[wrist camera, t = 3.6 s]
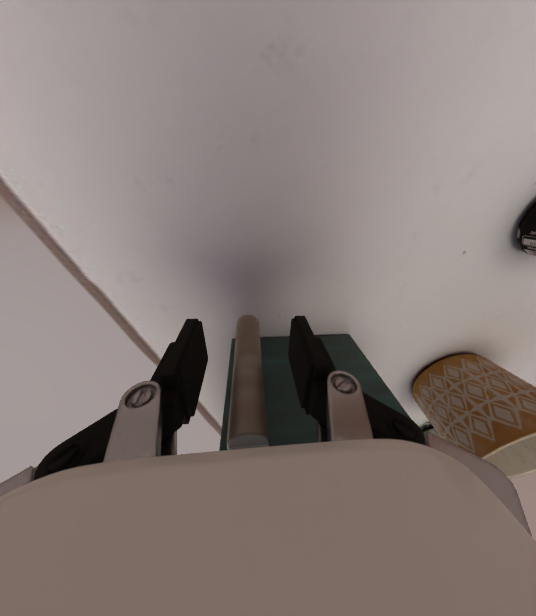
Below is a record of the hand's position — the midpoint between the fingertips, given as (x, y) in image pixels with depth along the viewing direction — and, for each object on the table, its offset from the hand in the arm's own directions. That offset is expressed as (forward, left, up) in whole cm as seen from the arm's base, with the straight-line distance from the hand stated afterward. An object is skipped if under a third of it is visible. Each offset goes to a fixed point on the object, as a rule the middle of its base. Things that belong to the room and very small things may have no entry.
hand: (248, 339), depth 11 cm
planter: (+28, +18, -9) cm, 35 cm away
